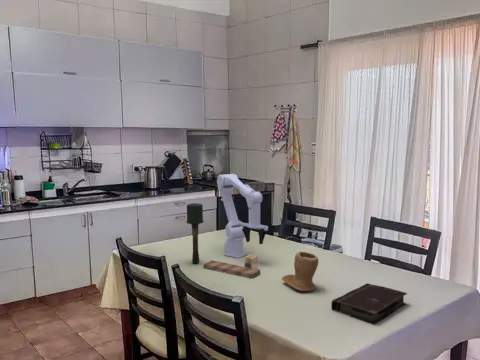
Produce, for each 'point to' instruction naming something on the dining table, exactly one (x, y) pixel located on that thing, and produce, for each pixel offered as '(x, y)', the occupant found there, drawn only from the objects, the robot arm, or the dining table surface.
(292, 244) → the dining table surface
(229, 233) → the robot arm
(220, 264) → the board
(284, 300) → the dining table surface
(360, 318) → the diary
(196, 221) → the potato masher grenade
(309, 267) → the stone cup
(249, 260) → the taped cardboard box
